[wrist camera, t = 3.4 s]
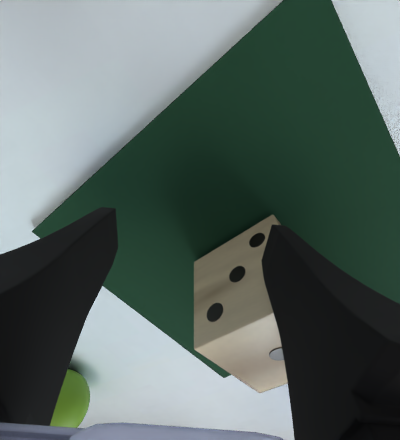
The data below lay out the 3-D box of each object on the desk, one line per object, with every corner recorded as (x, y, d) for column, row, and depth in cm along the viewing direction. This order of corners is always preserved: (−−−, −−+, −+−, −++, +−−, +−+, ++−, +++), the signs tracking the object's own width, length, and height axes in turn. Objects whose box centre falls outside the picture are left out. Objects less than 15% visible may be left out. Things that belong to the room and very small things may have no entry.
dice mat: (450, 279, 19) (455, 283, 18) (223, 373, 25) (223, 378, 25) (314, -29, 11) (317, -32, 10) (35, 228, 17) (31, 231, 17)
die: (316, 270, 18) (364, 357, 13) (243, 306, 20) (259, 395, 15) (273, 212, 15) (312, 294, 10) (193, 261, 17) (192, 350, 12)
